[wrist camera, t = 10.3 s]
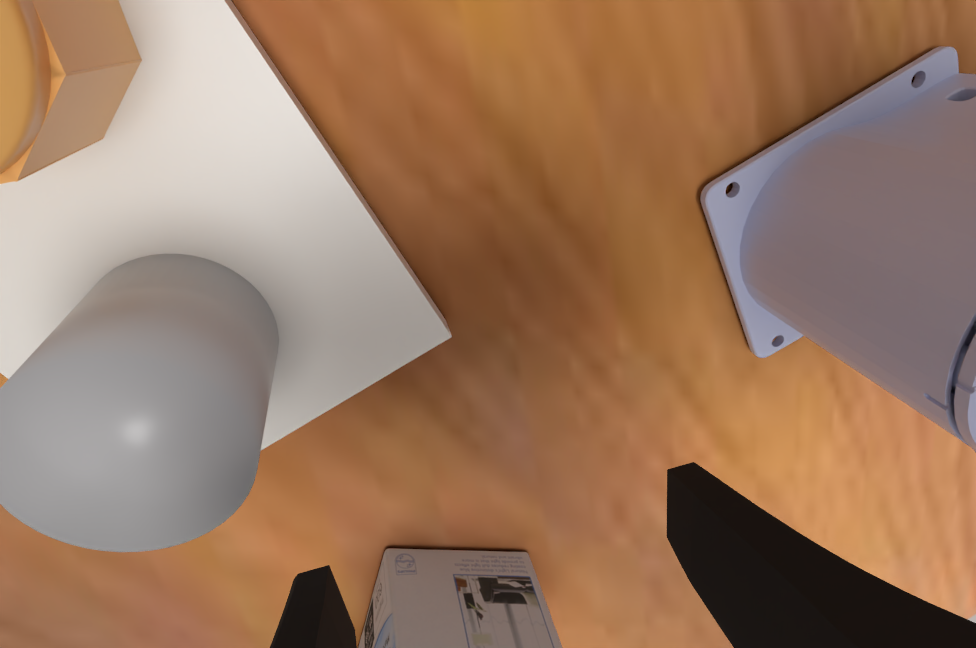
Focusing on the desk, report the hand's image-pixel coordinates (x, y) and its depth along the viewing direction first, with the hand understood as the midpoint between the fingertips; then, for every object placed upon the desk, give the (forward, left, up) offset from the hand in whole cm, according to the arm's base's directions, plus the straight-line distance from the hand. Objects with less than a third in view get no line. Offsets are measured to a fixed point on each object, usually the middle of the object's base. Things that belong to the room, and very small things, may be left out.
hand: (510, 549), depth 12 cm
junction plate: (+5, -9, -9) cm, 14 cm away
